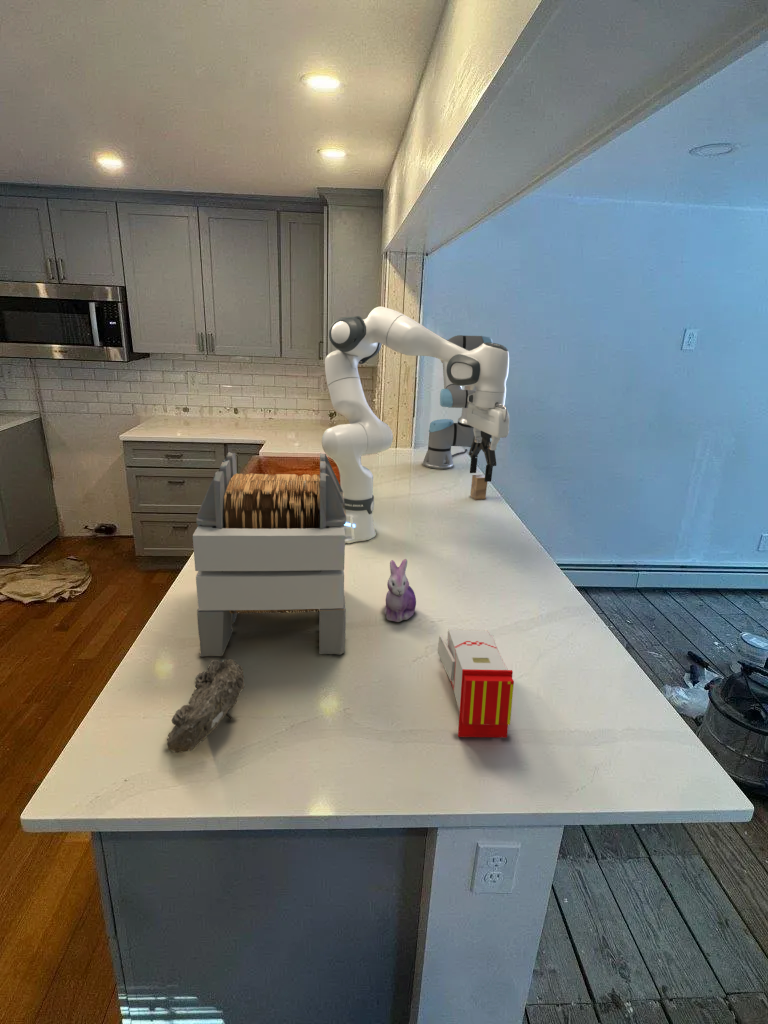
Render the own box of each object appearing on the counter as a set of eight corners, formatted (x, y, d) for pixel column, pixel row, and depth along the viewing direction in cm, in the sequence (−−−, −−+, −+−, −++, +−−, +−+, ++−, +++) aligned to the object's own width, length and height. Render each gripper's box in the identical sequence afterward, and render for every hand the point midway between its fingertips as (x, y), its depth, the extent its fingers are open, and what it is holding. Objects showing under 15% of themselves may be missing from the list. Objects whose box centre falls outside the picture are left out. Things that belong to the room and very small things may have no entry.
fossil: (192, 660, 117) (244, 628, 112) (224, 691, 120) (276, 661, 115) (142, 746, 98) (202, 712, 93) (182, 779, 101) (242, 748, 96)
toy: (488, 613, 130) (523, 677, 101) (484, 667, 133) (517, 744, 104) (435, 612, 130) (455, 676, 101) (432, 666, 133) (451, 743, 103)
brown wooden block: (485, 499, 241) (487, 477, 238) (475, 499, 240) (477, 478, 236) (480, 495, 245) (482, 474, 242) (470, 496, 244) (472, 475, 241)
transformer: (222, 587, 157) (213, 443, 143) (340, 586, 160) (343, 445, 147) (197, 659, 125) (183, 482, 111) (345, 655, 129) (349, 484, 115)
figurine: (392, 627, 141) (395, 572, 136) (374, 608, 149) (376, 556, 144) (425, 619, 145) (429, 566, 140) (405, 601, 154) (408, 550, 149)
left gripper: (517, 406, 159) (511, 454, 164) (483, 395, 177) (479, 438, 182) (497, 406, 157) (492, 454, 162) (465, 395, 175) (461, 439, 180)
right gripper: (508, 432, 222) (502, 484, 229) (479, 421, 244) (474, 469, 251) (491, 433, 220) (486, 485, 227) (463, 421, 242) (459, 469, 249)
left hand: (484, 446), depth 172 cm, fingers open, 8 cm apart
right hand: (480, 477), depth 239 cm, fingers open, 13 cm apart
